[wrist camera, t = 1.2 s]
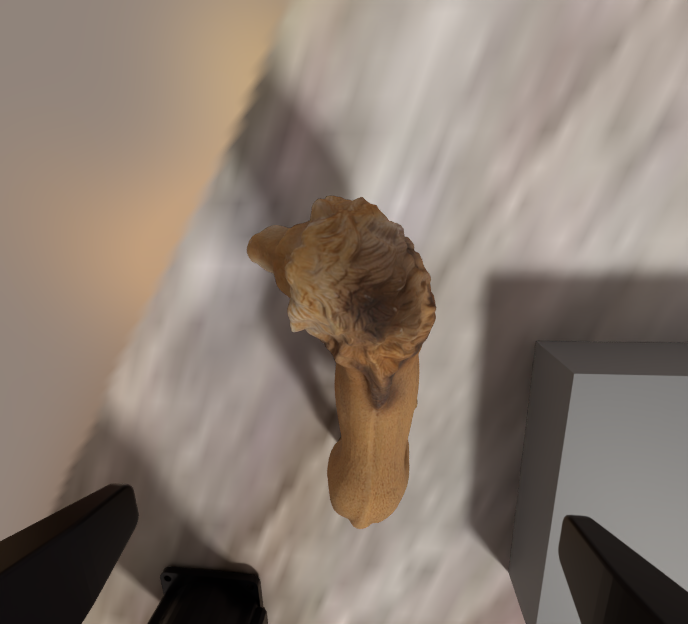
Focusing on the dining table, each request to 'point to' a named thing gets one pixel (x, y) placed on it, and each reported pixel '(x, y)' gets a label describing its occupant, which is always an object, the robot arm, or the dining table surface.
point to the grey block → (601, 462)
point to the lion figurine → (358, 338)
